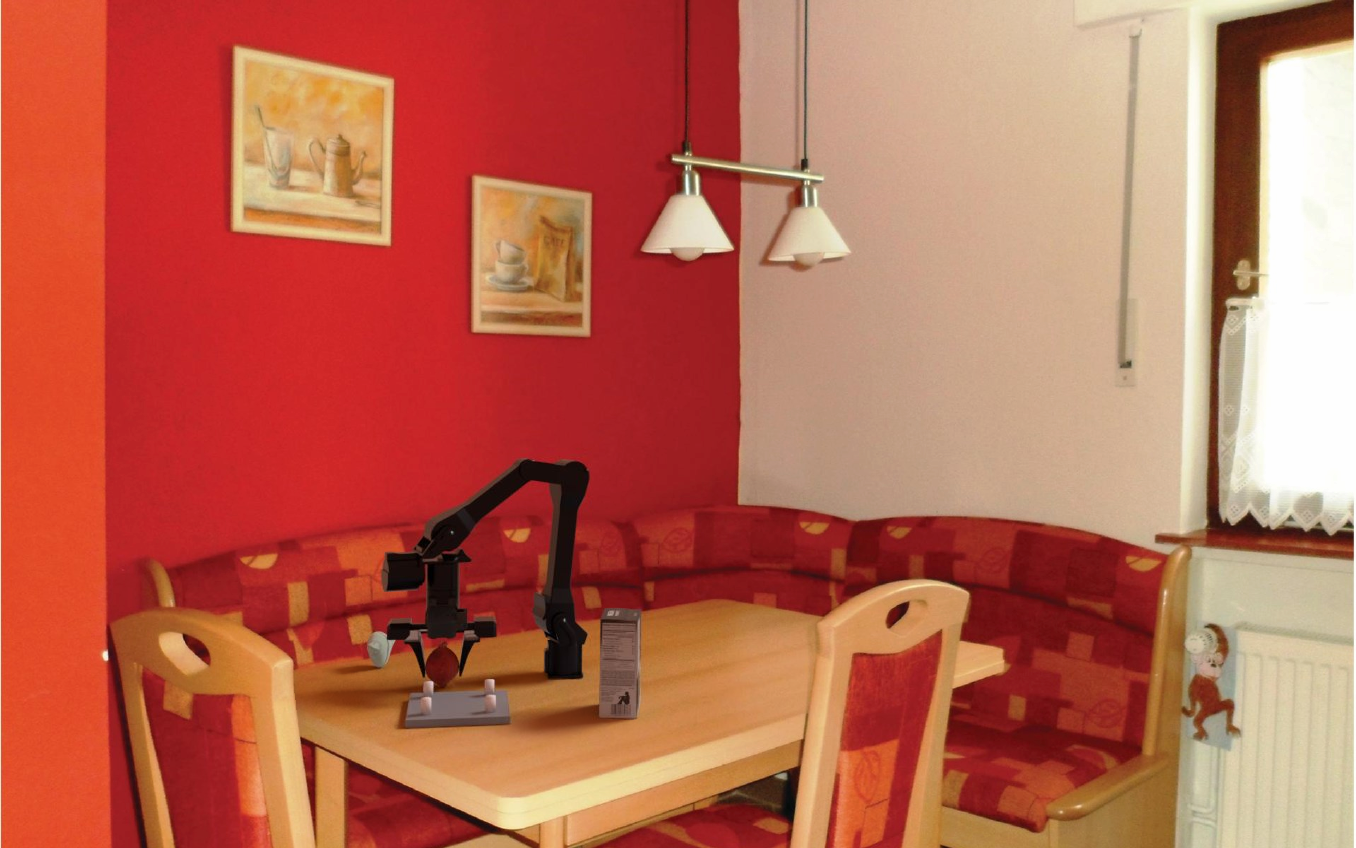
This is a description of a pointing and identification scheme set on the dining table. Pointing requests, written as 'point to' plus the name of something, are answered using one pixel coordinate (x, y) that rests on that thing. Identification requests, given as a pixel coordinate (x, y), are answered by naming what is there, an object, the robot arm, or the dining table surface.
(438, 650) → the onion
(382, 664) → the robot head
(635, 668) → the coffee box
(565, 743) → the dining table surface
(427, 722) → the plate
